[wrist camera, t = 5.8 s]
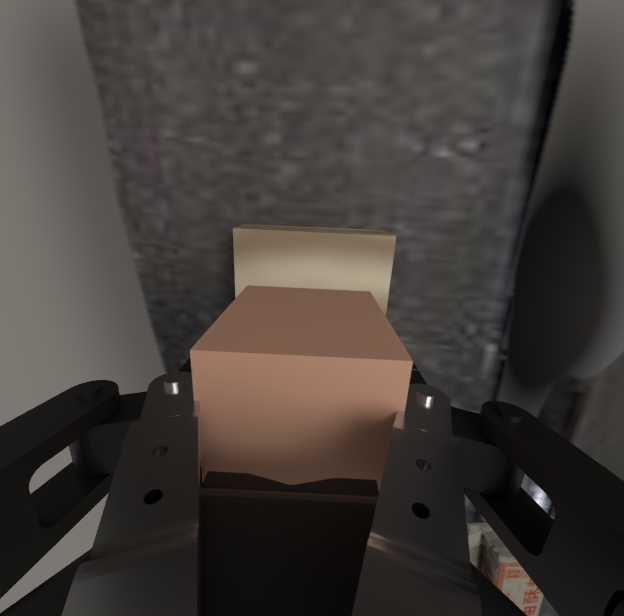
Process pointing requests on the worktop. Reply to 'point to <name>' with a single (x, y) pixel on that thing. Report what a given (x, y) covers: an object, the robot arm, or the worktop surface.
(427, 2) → the worktop surface
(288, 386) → the terracotta block
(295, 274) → the birch base
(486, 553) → the packaged product
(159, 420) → the robot arm
